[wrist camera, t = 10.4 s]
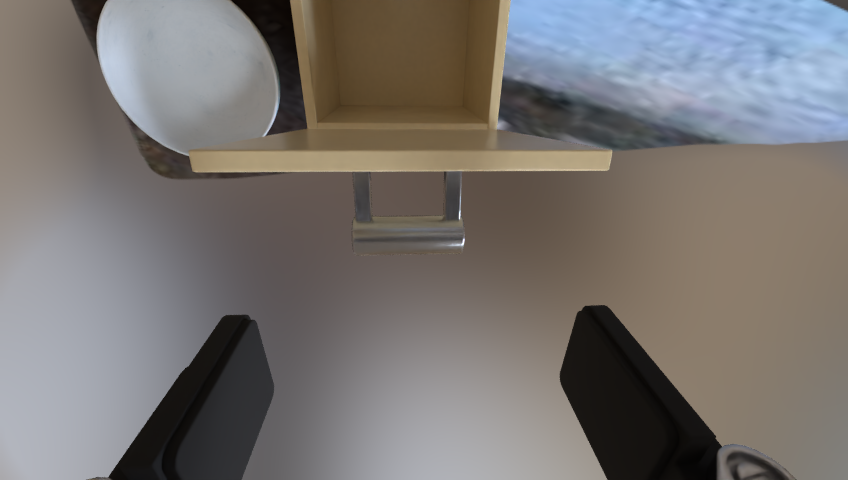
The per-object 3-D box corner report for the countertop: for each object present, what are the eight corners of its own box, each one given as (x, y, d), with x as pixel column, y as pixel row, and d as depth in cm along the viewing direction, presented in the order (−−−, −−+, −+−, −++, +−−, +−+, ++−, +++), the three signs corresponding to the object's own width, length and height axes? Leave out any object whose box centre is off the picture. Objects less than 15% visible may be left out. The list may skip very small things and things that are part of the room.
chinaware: (302, 149, 42) (283, 166, 35) (170, 136, 40) (123, 151, 33) (295, 2, 35) (270, -13, 28) (136, -20, 33) (69, -42, 27)
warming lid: (186, 149, 12) (215, 277, 14) (614, 149, 13) (590, 268, 15) (306, 128, 27) (312, 190, 29) (498, 129, 28) (493, 189, 30)
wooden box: (318, -61, 33) (271, -133, 21) (478, -55, 34) (523, -120, 22) (335, 111, 40) (307, 132, 28) (467, 112, 41) (496, 133, 29)
